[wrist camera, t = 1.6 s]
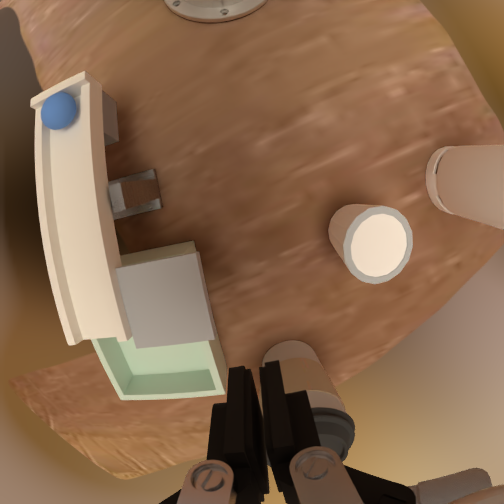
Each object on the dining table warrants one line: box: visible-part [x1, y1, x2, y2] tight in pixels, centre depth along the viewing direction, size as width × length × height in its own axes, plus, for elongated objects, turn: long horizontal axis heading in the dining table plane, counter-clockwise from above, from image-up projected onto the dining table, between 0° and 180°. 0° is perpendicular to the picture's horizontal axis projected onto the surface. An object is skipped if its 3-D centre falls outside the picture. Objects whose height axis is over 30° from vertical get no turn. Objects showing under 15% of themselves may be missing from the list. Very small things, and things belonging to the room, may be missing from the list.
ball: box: [41, 92, 76, 130], centre depth 17 cm, size 3×3×3 cm
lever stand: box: [108, 169, 163, 220], centre depth 24 cm, size 4×8×10 cm, turn 100°
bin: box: [91, 241, 227, 400], centre depth 30 cm, size 16×13×5 cm
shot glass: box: [328, 204, 413, 284], centre depth 27 cm, size 7×7×7 cm
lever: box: [31, 71, 217, 349], centre depth 20 cm, size 21×12×6 cm, turn 10°
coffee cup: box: [259, 340, 355, 467], centre depth 27 cm, size 9×9×15 cm
